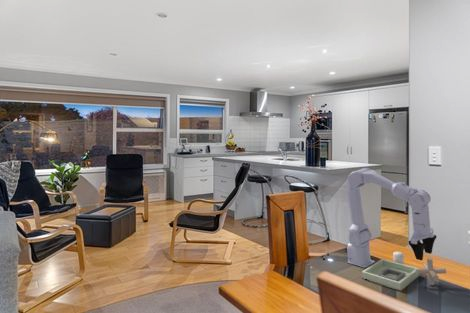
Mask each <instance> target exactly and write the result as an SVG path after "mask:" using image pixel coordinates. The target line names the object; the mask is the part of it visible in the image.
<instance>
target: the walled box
mask: <svg viewBox="0 0 470 313" xmlns="http://www.w3.org/2000/svg"><path fill="white" fill-rule="evenodd" d="M416 269H420V268H418V267H416V266H411V265H407V264H405V263H404V264H400V263H396V262H394V261H391V260H388V259H383V258H381V259H379V260H378V261H375V262H374V263H373V264H371V265H369V266H368V267H366V268H365V269H363V270H362V271H361V278H362V277H363V278H366V279H368V280H369V281H368V280H367V281H368V282H372V283H375V284H378V285H381V286H384V287H387V288H389V289H392V290H396V291H400V292H401V291H402V290H404V289H405V288H406V287H408V285H411V284H412V283H413V282H414V281H416V279H418V278H419V277H421V274H417V273H416Z"/></svg>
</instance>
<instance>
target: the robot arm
mask: <svg viewBox="0 0 470 313" xmlns="http://www.w3.org/2000/svg"><path fill="white" fill-rule="evenodd" d="M367 184H375V185H378V186H380V187H383V188H385V189H386V190H390V191H391V193H392V195H393V196H394V197H397V198H399V199H400V200H403V201H405V202H407V203H408V205H409V206H410V208H411V214H412V216H411V218H412V226H413V227H412V228H413V233H412V236H411V237H410V240H409V241H408V245H409V246H410V247H411V249H412V251H413V253H414V256H415V258H416V260H418V261H423V259H424V253H425V254H432V253H433V248H434V244H435V241H436V239H437V234H434V228H432V227H431V222H430V220H431V219H430V210H429V209H430V207H429V203H431V196H430V194H429V193H428V192H427V191H425V189H420V190H418V189H417V188H416V187H415V188H413V187H412V186H409V185H407V184H406V182H405V181H404V182H403V181H402V182H401V181H398V182H394V181H392V180H390V179H388V178H387V177H385V176H382V175H381V174H379V173H378V172H376V171H375V170H374V169H370V168H369V167H363V168H360V169H358V170H354V171H352V172H350V173H349V174H348V175H347V182H346V186H345V188H346V194H347V195H346V196H347V201H348V206H349V215H350V220H351V221H350V222H351V225H350V227H349V229H348V238H347V239H348V241H349V243H348V244H347V245H346V246H347V247H346V251H347V252H346V253H347V263H348V264H351V265H354V266H358V267H361V268H365V269H367V268H368V267H370V266H371V265H373V264H375V263H376V261H375V260H372V259H371V250H370V240H371V239H372V232H371V230H370V228H369V225H368V224H366V222H365V217H364V212H363V210H364V209H363V205H362V199H361V191H360V190H361V188H362V187H363V186H364V185H367ZM421 241H422V242H421Z"/></svg>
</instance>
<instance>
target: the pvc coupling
mask: <svg viewBox="0 0 470 313" xmlns="http://www.w3.org/2000/svg"><path fill="white" fill-rule="evenodd" d="M392 259H393V262H396V263H400V264H404V265H405V258H404V253H403V252H402V251H394V252H392Z"/></svg>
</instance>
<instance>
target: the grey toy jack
mask: <svg viewBox="0 0 470 313" xmlns="http://www.w3.org/2000/svg"><path fill="white" fill-rule="evenodd" d="M416 273H417V274H420V275H428V284H429V285H431V286H435V281H437V280H439V279H440V278H439V276H438V274H447V270H446V268H444V267H443V268H434V259H433V258H432V257H427V258H426V263H423V268H419V269H416Z"/></svg>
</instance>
